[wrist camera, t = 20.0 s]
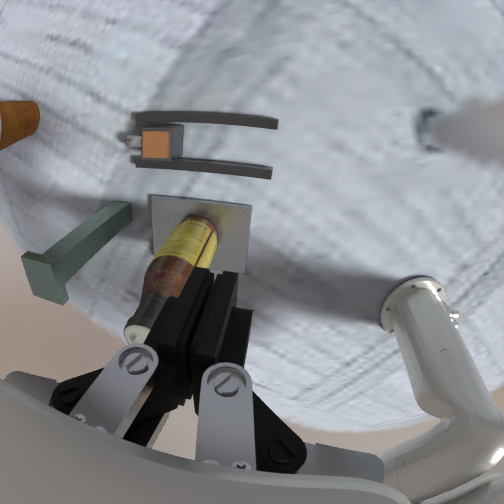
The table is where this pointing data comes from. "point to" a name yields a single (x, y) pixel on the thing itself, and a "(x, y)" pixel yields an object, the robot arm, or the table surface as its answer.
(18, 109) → the disposable coffee cup
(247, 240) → the frame
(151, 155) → the orange-faced grey cube
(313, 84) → the table surface
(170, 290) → the sauce bottle
